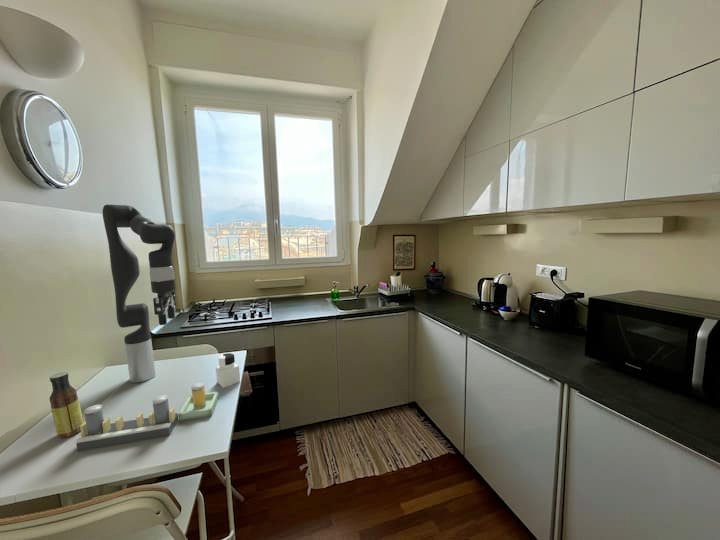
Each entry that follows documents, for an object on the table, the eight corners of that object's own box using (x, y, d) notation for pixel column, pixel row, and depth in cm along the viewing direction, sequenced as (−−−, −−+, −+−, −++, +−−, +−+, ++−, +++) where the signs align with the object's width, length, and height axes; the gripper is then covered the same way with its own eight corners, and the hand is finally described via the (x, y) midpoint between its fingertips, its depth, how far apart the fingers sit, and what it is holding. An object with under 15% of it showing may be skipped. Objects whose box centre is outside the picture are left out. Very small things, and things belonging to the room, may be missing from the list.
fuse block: (93, 433, 94) (90, 416, 93) (179, 419, 100) (177, 403, 99) (76, 451, 86) (73, 432, 86) (170, 435, 92) (168, 417, 92)
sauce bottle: (82, 423, 100) (73, 367, 97) (86, 431, 96) (76, 372, 93) (54, 434, 95) (44, 375, 92) (57, 442, 91) (46, 381, 88)
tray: (189, 402, 111) (189, 395, 110) (218, 397, 113) (218, 391, 113) (179, 421, 99) (178, 414, 99) (211, 416, 102) (210, 409, 101)
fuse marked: (195, 404, 108) (193, 383, 107) (207, 402, 109) (205, 382, 108) (192, 410, 104) (189, 389, 103) (204, 408, 105) (202, 387, 104)
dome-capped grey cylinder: (93, 429, 92) (89, 405, 91) (108, 427, 93) (104, 403, 92) (84, 438, 88) (80, 413, 87) (100, 435, 89) (96, 411, 88)
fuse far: (158, 419, 97) (155, 396, 96) (172, 417, 98) (169, 394, 97) (153, 426, 93) (150, 403, 92) (167, 424, 94) (164, 400, 93)
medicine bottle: (233, 376, 130) (231, 350, 129) (240, 381, 125) (238, 354, 124) (216, 382, 125) (214, 355, 124) (223, 388, 120) (220, 360, 119)
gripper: (159, 276, 115) (163, 317, 117) (142, 282, 101) (147, 328, 103) (180, 275, 117) (184, 315, 119) (166, 281, 103) (171, 326, 105)
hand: (167, 321), depth 111 cm, fingers open, 8 cm apart
